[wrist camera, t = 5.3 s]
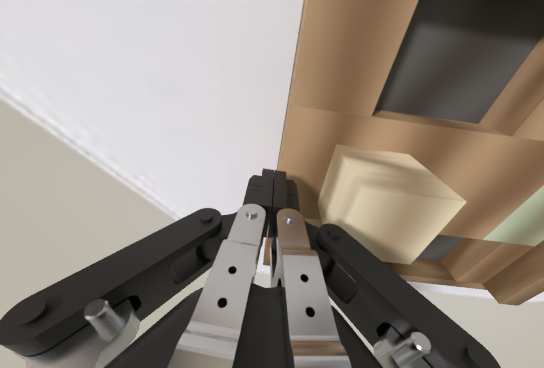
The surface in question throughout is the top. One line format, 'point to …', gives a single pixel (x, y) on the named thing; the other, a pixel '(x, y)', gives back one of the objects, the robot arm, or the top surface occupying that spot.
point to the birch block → (386, 202)
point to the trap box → (432, 123)
